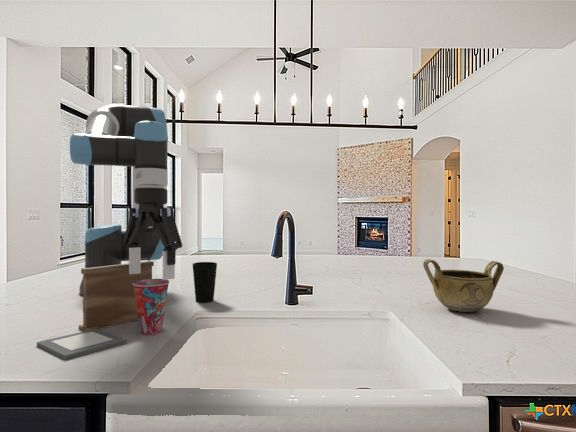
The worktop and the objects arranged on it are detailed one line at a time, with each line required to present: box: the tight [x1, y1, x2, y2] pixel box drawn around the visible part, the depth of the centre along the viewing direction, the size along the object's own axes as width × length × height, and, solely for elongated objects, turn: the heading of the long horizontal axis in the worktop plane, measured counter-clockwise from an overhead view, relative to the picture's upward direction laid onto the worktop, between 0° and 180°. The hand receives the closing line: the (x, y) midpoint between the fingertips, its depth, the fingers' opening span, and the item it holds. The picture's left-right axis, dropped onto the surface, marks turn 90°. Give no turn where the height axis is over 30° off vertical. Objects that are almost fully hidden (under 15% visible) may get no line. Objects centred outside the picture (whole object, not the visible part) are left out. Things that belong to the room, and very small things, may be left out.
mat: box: [36, 329, 128, 360], centre depth 90 cm, size 13×13×1 cm
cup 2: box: [192, 261, 218, 304], centre depth 133 cm, size 8×8×12 cm
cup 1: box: [132, 278, 170, 336], centre depth 100 cm, size 9×8×12 cm
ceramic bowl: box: [422, 258, 505, 313], centre depth 123 cm, size 22×17×15 cm
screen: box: [78, 260, 155, 332], centre depth 106 cm, size 6×19×15 cm, turn 143°
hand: (151, 276), depth 99 cm, fingers open, 13 cm apart
